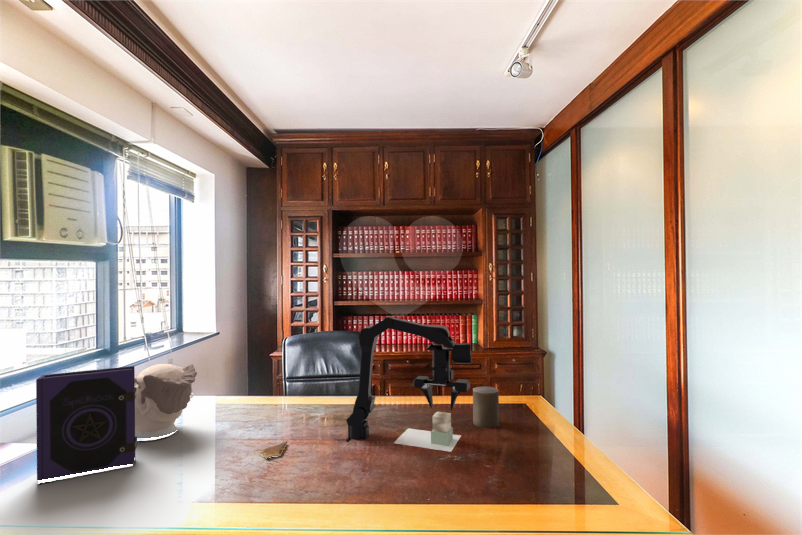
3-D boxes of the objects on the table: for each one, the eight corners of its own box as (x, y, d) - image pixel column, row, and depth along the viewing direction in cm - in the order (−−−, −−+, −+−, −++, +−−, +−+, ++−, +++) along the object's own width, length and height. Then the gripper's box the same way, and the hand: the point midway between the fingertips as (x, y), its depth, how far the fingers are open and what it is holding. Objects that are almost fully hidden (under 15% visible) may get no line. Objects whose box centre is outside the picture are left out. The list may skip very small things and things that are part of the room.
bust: (93, 420, 154) (119, 350, 149) (144, 404, 172) (168, 341, 167) (137, 465, 145) (166, 391, 140) (186, 443, 163) (213, 377, 158)
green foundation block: (431, 443, 142) (430, 431, 142) (436, 436, 147) (436, 425, 147) (448, 445, 140) (448, 433, 140) (452, 439, 145) (452, 427, 145)
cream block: (432, 431, 142) (432, 416, 142) (437, 425, 147) (436, 411, 147) (447, 433, 140) (446, 418, 140) (451, 427, 145) (450, 413, 145)
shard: (287, 445, 145) (287, 440, 145) (298, 452, 140) (298, 446, 140) (257, 455, 137) (257, 450, 137) (268, 463, 132) (268, 457, 132)
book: (36, 486, 118) (35, 379, 119) (43, 476, 124) (42, 374, 124) (135, 467, 129) (134, 369, 129) (137, 458, 135) (136, 365, 135)
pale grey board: (393, 445, 142) (393, 442, 142) (408, 430, 155) (408, 428, 155) (451, 454, 135) (451, 451, 135) (461, 438, 148) (461, 435, 148)
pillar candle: (497, 431, 154) (497, 390, 154) (470, 428, 157) (470, 388, 157) (500, 422, 163) (500, 384, 163) (475, 420, 166) (474, 381, 166)
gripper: (473, 360, 148) (473, 404, 148) (422, 356, 154) (423, 399, 154) (466, 367, 137) (466, 414, 137) (412, 363, 144) (412, 408, 144)
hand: (441, 408), depth 143 cm, fingers open, 7 cm apart
